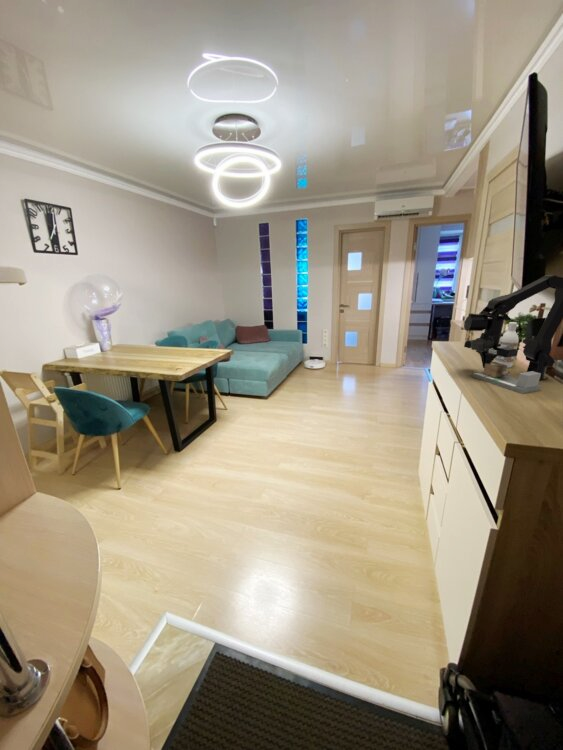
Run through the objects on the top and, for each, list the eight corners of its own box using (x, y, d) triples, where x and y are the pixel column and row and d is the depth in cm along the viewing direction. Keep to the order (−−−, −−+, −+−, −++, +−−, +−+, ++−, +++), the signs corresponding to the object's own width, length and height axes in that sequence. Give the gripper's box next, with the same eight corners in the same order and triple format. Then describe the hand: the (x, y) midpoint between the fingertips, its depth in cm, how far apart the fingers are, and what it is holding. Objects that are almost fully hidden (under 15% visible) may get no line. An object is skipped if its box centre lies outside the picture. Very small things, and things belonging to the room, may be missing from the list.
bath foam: (508, 368, 138) (519, 324, 132) (491, 365, 144) (501, 322, 137) (514, 366, 142) (525, 322, 135) (498, 362, 147) (508, 320, 141)
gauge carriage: (492, 372, 128) (495, 360, 126) (510, 378, 121) (513, 365, 120) (480, 374, 126) (482, 362, 124) (498, 380, 119) (501, 367, 117)
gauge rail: (489, 373, 132) (492, 359, 130) (540, 390, 114) (545, 373, 112) (472, 376, 128) (475, 361, 126) (522, 393, 111) (526, 376, 109)
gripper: (457, 328, 129) (451, 364, 134) (501, 337, 112) (492, 377, 117) (477, 326, 132) (470, 361, 137) (522, 334, 116) (512, 374, 121)
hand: (484, 368), depth 128 cm, fingers closed
